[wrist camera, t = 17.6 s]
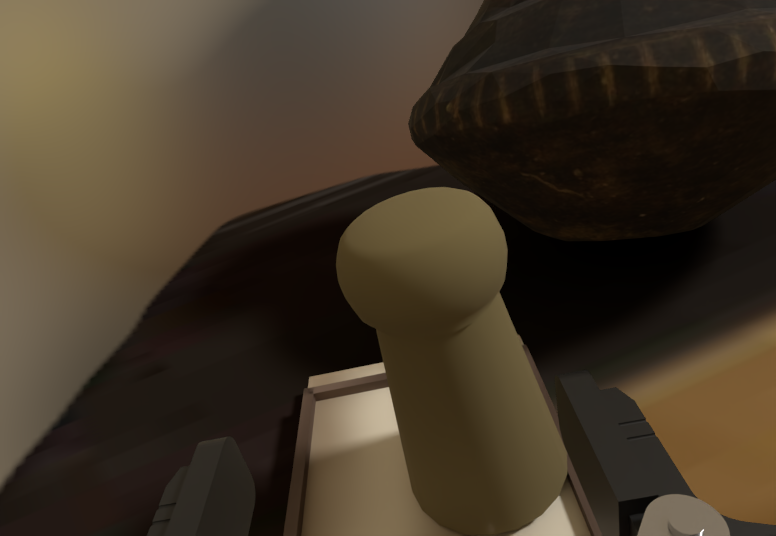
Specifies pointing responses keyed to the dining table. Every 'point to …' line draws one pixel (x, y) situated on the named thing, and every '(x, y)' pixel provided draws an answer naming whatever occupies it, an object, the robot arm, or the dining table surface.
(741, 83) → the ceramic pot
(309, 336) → the dining table surface
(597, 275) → the dining table surface
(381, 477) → the stamping board
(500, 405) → the cork
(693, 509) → the robot arm
